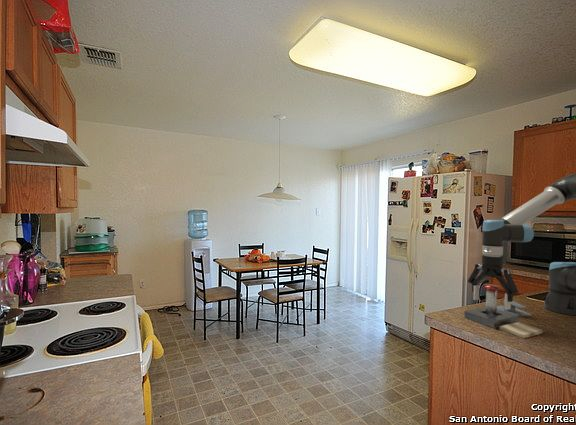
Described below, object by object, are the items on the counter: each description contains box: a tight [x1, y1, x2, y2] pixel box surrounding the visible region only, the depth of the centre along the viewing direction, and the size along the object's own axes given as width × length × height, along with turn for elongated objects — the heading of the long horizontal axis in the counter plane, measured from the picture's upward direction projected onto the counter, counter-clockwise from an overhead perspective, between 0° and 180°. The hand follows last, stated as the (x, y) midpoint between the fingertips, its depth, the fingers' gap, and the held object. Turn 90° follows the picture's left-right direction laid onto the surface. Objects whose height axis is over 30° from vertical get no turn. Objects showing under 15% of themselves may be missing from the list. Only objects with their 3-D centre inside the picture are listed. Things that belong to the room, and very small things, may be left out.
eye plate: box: [464, 306, 520, 329], centre depth 134 cm, size 16×13×3 cm
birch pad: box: [498, 321, 544, 339], centre depth 122 cm, size 12×9×1 cm
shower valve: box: [497, 299, 532, 317], centre depth 144 cm, size 12×6×15 cm
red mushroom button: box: [483, 283, 501, 316], centre depth 134 cm, size 6×6×15 cm
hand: (491, 304), depth 134 cm, fingers open, 13 cm apart
